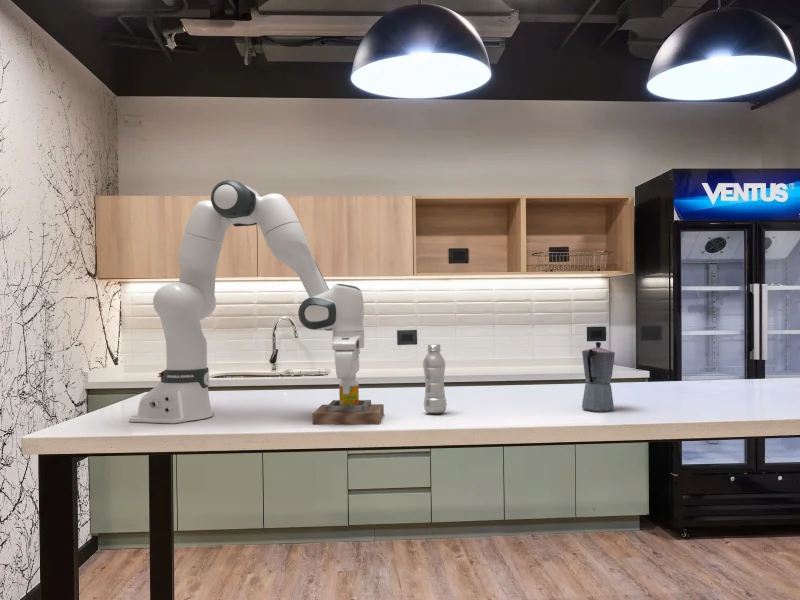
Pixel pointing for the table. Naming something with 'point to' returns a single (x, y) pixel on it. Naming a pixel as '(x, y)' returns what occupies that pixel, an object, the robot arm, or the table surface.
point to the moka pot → (598, 379)
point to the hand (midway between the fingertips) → (348, 391)
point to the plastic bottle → (434, 381)
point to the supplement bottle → (353, 396)
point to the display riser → (349, 413)
